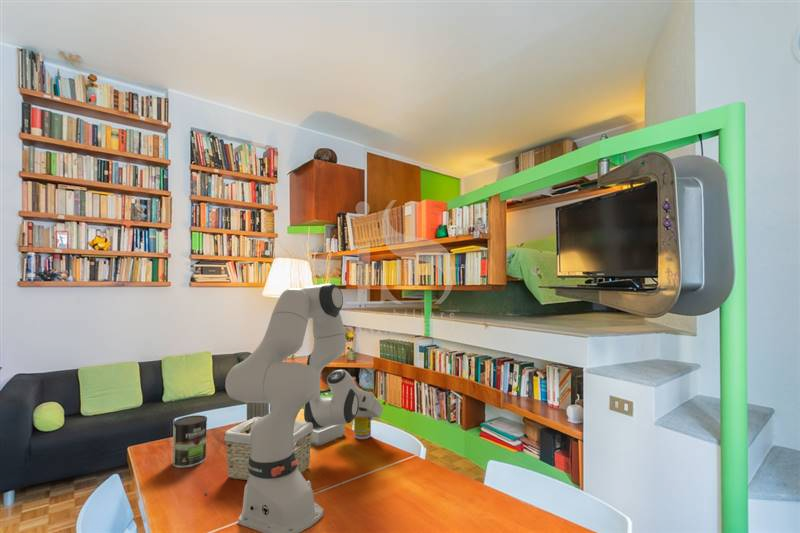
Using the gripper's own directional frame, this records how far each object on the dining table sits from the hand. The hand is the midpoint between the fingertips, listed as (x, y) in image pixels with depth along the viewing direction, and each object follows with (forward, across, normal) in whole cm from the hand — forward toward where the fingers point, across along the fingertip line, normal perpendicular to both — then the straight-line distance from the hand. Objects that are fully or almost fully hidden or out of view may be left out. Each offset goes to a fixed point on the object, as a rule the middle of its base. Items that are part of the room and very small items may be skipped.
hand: (363, 417), depth 157 cm
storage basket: (-22, -14, -32) cm, 42 cm away
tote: (+1, -16, -10) cm, 19 cm away
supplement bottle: (+5, 0, -6) cm, 8 cm away
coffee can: (-24, -46, -35) cm, 63 cm away
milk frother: (-3, -45, -14) cm, 47 cm away
